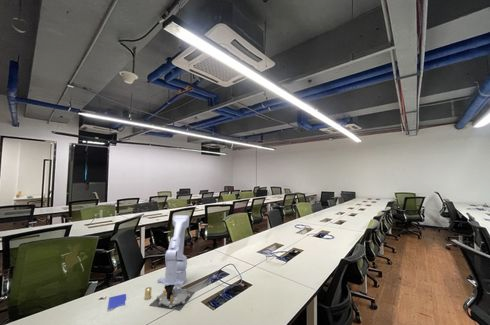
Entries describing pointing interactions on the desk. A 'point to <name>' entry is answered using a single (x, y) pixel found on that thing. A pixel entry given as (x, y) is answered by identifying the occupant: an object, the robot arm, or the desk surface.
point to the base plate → (176, 307)
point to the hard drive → (116, 302)
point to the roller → (148, 293)
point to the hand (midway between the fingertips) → (169, 298)
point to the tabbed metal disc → (173, 297)
